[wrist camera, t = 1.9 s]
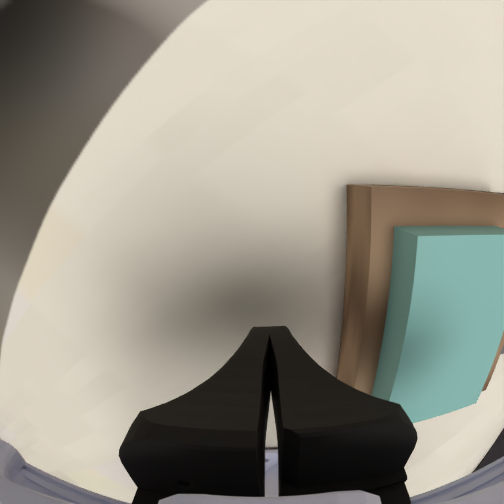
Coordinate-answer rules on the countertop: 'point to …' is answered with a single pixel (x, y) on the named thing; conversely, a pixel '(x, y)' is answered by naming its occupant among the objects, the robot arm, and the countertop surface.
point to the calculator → (494, 452)
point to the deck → (380, 260)
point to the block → (441, 318)
